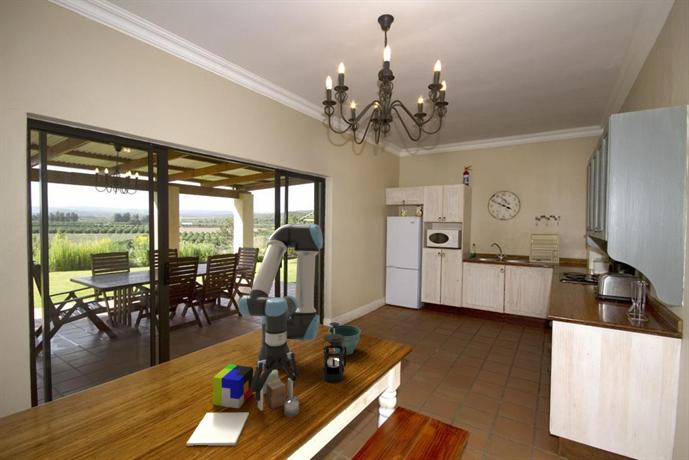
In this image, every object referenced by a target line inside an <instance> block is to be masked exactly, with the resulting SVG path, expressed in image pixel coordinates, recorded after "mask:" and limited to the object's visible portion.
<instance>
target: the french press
mask: <svg viewBox="0 0 689 460" xmlns="http://www.w3.org/2000/svg"><path fill="white" fill-rule="evenodd" d="M338 325H340V323H339V322H334V321H332V322H330V323H329V326H331V327H333V328H334V334H329V333H328V334H326V335H324V336H323V338H322V339H323V340H324V343H326V342H328V344H329V345H326V346H324V347H323V349H322V350H323V356H324V360H323V368H322V377H321V378H322V380H323V381H324V382H327V383H331V384H338V383H340V382H343V381H344V380H345V377H346V375H345V367H347V355H346V346H344V345H343V343H344V339H345V337H344V336H343V335H340V334H335V326H338ZM341 345H343V346H341ZM334 348H339V349H340V353H336V352H335V349H334ZM330 349H333V353H331V352H330ZM332 373H335V374H332Z"/></svg>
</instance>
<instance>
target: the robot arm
mask: <svg viewBox="0 0 689 460" xmlns="http://www.w3.org/2000/svg"><path fill="white" fill-rule="evenodd" d="M323 245H324V238H323V232H322V228H321V226H320V225H318V224H317V223H316V224H315V223H287V224H283V225H281V226H280V227H278V228H277V229H276V230H274V232H273V233H272V234H271V235H270V237H269V239H268V240H267V242H266V248H267V249H266V250H265V251H266V252H265V254H264V257H263V259H262V262H261V264H260V268H259V269H258V271H257V273H256V274H257V275H256V278H255V279H254V282H253V284H252V287H251V290H250V292H249V295H243V296H242V297H241V298H240V300H239V302H238V311H239V314H240V315H243V316H248V317H261V346H260V349H259V352H258V355H257V361H256V367H255V371H254V372H253V380H252V383H251V386H250V389H251V391H252V392H253V393H254V394H255V401H256V402H257V408H258V409H259V410H260V411H264V393H263V391H262V388H263V386H264V384H265V382H266V380H267V378H268V376H269V374H270V373H271V372H272V371H273V370H275V369H276V370H278V369H283V370H284V371H285V373H286V374H287V376H288V378H287V397H294V388H295V387H296V381H297V379H298V378H297V377H300V374H301V373H300V371H299V368H298V366H297V362H296V359H295V357H296V356H295V355H296V354H295V353H294V352H292V350H290V347H289V344H288V340H293V341H294V340H295V341H304V342H307V341H313V340H315V338H316V337H317V333H319V332H318V331H319V328H320V320H321V319H320V315H319V314H317V309H316V308H315V307H314V295H315V294H314V293H315V270H316V256H317V255H318V254H319V253H320V251H319V250H321V249H322V248H323ZM291 248H292V249H294V250H293V251H294V253H295V254H296V256H297V257H296V274H295V275H296V277H295V291H294V292H295V294H294V295H295V297H294V296H292V295H286V296H283V297H274V296H273V297H271V296H270V293H271V290H272V287H273V284H274V283H275V280H276V279H275V278H276V276H277V273H278V270H279V268H280V267H279V266H280V265H281V261H282V258H283V256H284V254H285V253H286V252H287V250H288V249H291ZM287 363H290V364H289V365H290V367H291V369H290V368H289V366H288V365H287ZM263 368H264V370H263ZM263 371H264V372H263ZM262 372H263V373H262Z"/></svg>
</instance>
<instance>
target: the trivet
mask: <svg viewBox="0 0 689 460" xmlns="http://www.w3.org/2000/svg"><path fill="white" fill-rule="evenodd" d="M249 416H250V413H249V411H248V412H206V414H205V415H204V416H203V418H202V420H201V421H200V422H199V424H198V426H197V427H196V428H195V430H194V431H193V433H192V434H191V436H190V437H189V439H188V440H187V442H186V446H187V447H189V446H191V447H192V446H193V445H208V446H236V445H237V442H238V441H239V438H240V436H241V433H242V432H243V429H244V427H245V424H246V423H247V420H248V417H249Z"/></svg>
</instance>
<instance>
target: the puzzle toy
mask: <svg viewBox="0 0 689 460" xmlns="http://www.w3.org/2000/svg"><path fill="white" fill-rule="evenodd" d="M253 377H254V367H253V366H247V365H237V364H232V363H231V364H228V365H226V366H225V367H224V368H223V369H222V370H220V371H219V372H218V373H216V375H214V376H213V377H212V381H213V382H212V383H213V384H212V387H213V389H212V398H213V399H212V405H213V406H220V407H227V408H234V409H240V408H241V407H242V405H243V404H244V403H246V401H247V400H248V399H249V398H250V396H252V394H254V392H252V391H251V389H250V386H251V383H252V380H253Z"/></svg>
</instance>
